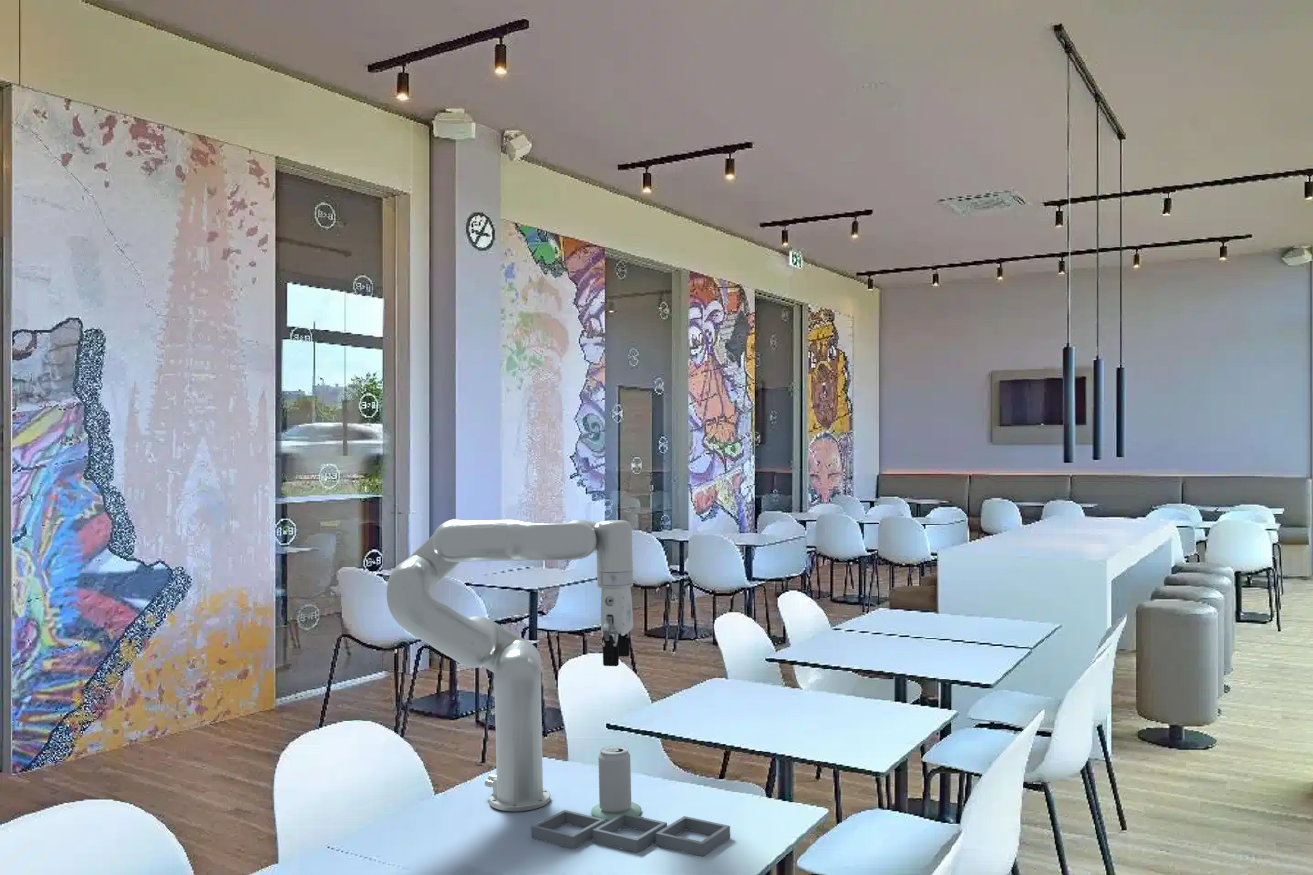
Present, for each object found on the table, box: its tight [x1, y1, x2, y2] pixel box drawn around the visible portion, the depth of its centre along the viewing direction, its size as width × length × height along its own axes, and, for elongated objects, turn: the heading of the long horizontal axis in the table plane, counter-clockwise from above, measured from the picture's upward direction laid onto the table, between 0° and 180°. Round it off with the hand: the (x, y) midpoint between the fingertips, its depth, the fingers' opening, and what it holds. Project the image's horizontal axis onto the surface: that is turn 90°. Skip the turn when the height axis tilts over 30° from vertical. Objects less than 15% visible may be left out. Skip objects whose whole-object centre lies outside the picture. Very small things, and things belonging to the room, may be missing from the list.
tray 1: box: [530, 809, 607, 850], centre depth 187 cm, size 10×10×2 cm
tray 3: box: [655, 815, 731, 857], centre depth 183 cm, size 10×10×2 cm
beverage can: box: [598, 745, 632, 814], centre depth 198 cm, size 6×6×12 cm
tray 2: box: [592, 813, 668, 853], centre depth 185 cm, size 10×10×2 cm
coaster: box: [590, 801, 642, 822], centre depth 198 cm, size 10×10×1 cm
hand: (616, 660), depth 208 cm, fingers open, 9 cm apart
